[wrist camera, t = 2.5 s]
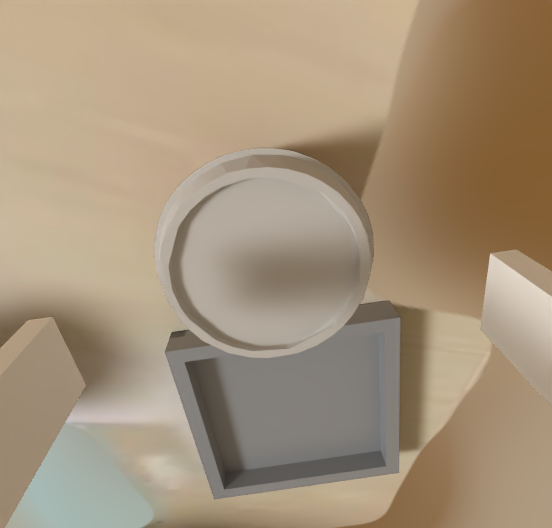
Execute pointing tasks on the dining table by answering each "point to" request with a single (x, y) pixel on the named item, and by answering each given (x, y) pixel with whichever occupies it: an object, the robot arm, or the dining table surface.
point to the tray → (295, 407)
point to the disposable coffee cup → (264, 252)
